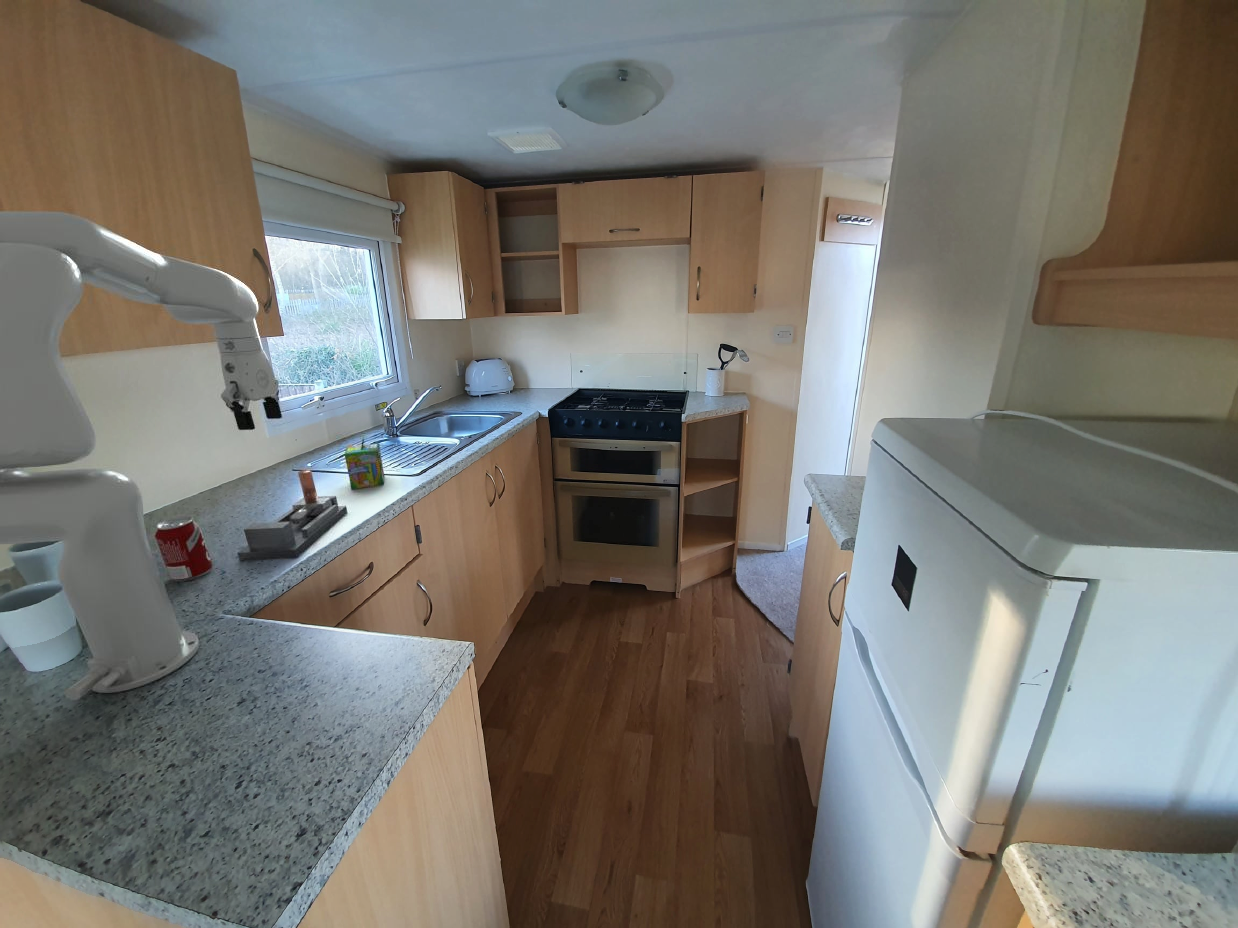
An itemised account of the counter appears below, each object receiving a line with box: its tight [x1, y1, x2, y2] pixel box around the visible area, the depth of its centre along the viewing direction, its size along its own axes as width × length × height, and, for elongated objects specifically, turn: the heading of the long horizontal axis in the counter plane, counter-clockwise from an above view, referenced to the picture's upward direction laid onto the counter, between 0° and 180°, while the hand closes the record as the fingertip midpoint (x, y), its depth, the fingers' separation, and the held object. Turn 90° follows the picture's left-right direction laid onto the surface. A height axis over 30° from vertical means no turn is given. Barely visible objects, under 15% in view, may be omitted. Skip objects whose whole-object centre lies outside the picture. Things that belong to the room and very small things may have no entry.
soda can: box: [154, 516, 213, 582], centre depth 98 cm, size 7×7×12 cm
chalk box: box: [344, 435, 385, 490], centre depth 147 cm, size 9×9×15 cm
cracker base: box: [237, 495, 348, 562], centre depth 115 cm, size 24×12×7 cm, turn 4°
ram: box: [290, 469, 332, 524], centre depth 119 cm, size 10×7×11 cm
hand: (261, 423), depth 109 cm, fingers open, 9 cm apart
